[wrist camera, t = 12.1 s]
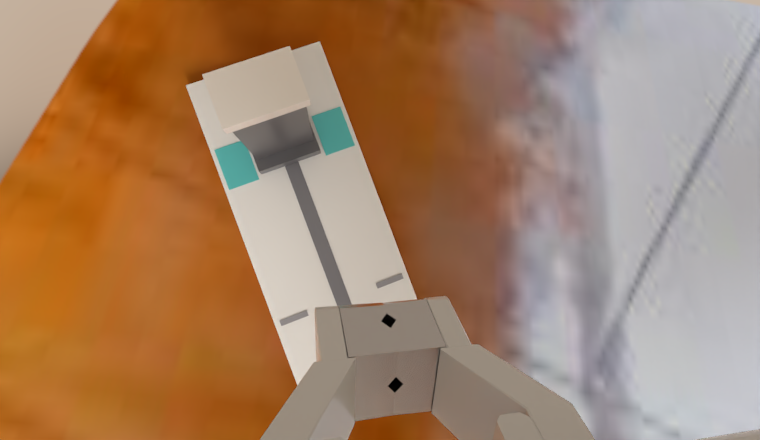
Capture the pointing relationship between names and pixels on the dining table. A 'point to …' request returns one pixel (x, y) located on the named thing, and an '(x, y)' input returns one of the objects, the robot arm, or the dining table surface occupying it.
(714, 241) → the dining table surface
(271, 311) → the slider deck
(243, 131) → the fader tab
